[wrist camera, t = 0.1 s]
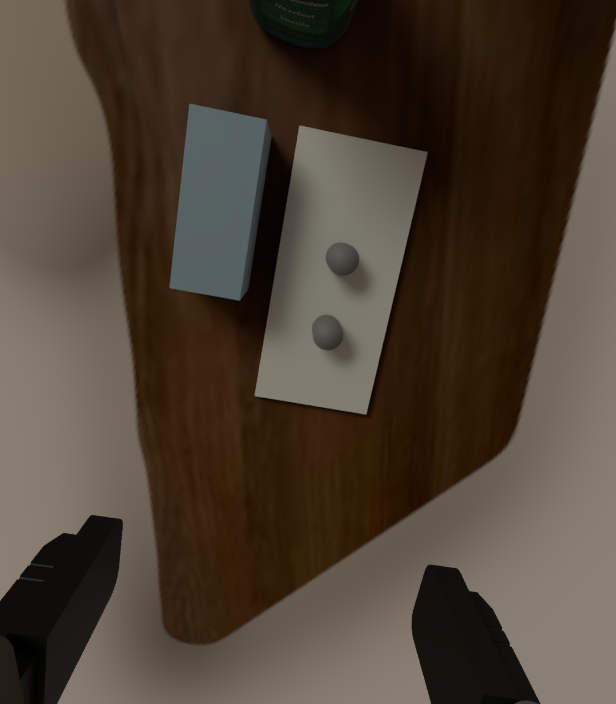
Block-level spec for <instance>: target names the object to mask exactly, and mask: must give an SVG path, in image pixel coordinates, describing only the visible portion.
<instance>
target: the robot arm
mask: <svg viewBox="0 0 616 704" xmlns="http://www.w3.org/2000/svg"><path fill="white" fill-rule="evenodd" d="M122 529H123V522H122V520H121V519H117V518H109V517H103V516H96V515H91V516H90V517H89V518H88V519H87V521H86V522H85V524H84V525H83V526H82V528H81V529H80V531H79V532H78V534H77V535H74V534H67V533H63V534H61V535H60V536H58V537H57V538H55V539H53V540H52V541H50V542H49V543H47V544H46V545H44V546H43V547H42V549H41V550H40V551H39V553H38V554H37V555H36V556H35V558H34V559H33V560H32V561H31V564H30V566H28V567H27V568H26V569H25V570H24V572H23V573H22V574H21V575H20V578H19V580H16V582H15V583H14V584H13V585H12V587H11V588H10V589H9V591H8V592H7V593H6V594H5V596H4V597H3V598H2V599H1V601H0V704H57V703H58V701H59V699H60V697H61V695H62V693H63V691H64V689H65V687H66V685H67V683H68V681H69V679H70V677H71V675H72V673H73V671H74V669H75V667H76V665H77V663H78V661H79V659H80V657H81V655H82V653H83V651H84V649H85V647H86V645H87V643H88V641H89V639H90V637H91V635H92V633H93V631H94V629H95V627H96V625H97V623H98V621H99V619H100V617H101V615H102V613H103V611H104V609H105V607H106V605H107V603H108V601H109V599H110V597H111V595H112V593H113V590H114V587H115V584H116V580H117V576H118V570H119V561H120V551H121V539H122ZM412 634H413V640H414V643H415V647H416V650H417V654H418V657H419V661H420V665H421V668H422V672H423V676H424V679H425V683H426V686H427V690H428V694H429V697H430V701H431V704H540V702H539V700H538V698H537V697H536V694H535V692H534V690H533V688H532V686H531V684H530V682H529V680H528V678H527V676H526V674H525V672H524V670H523V668H522V666H521V664H520V662H519V660H518V658H517V657H516V655H515V653H514V651H513V649H512V647H510V643H509V640H508V638H507V637H506V635H505V633H504V631H502V627H501V625H500V623H499V621H498V619H497V617H496V615H495V613H494V611H493V609H492V608H491V607H490V606H489V605H488V604H487V603H486V601H485V600H484V599H483V598H482V597H481V596H480V595H479V594H478V593H477V592H471V591H469V590H468V588H467V586H466V583H465V581H464V579H463V577H462V575H461V573H460V571H459V570H458V569H457V568H450V567H443V566H437V565H428V566H427V567H426V569H425V572H424V575H423V579H422V582H421V585H420V589H419V592H418V596H417V599H416V603H415V606H414V609H413V614H412Z"/></svg>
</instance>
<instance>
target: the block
mask: <svg viewBox="0 0 616 704" xmlns="http://www.w3.org/2000/svg"><path fill="white" fill-rule="evenodd" d="M271 138H272V136H271V133H270V129H269V126H268V123H267V120H265V119H261V118H256V117H251V116H246V115H241V114H236V113H232V112H227V111H222V110H217V109H212V108H207V107H203V106H198V105H193V104H190V105H189V114H188V123H187V132H186V141H185V151H184V160H183V169H182V178H181V187H180V197H179V206H178V215H177V224H176V233H175V243H174V252H173V261H172V270H171V280H170V288H173V289H178V290H184V291H189V292H195V293H200V294H206V295H212V296H217V297H223V298H228V299H234V300H239V301H240V300H241V298H242V297H243V296H244V294H245V293H246V292H247V290H248V289H249V282H250V275H251V269H252V262H253V256H254V249H255V243H256V236H257V229H258V223H259V216H260V210H261V203H262V197H263V190H264V184H265V177H266V170H267V164H268V157H269V151H270V144H271Z"/></svg>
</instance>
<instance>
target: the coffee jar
mask: <svg viewBox="0 0 616 704" xmlns="http://www.w3.org/2000/svg"><path fill="white" fill-rule="evenodd" d="M357 3H358V0H249V4H250V8H251V11H252V14H253V16H254V18H255V20H256V21H257V23H258V24H259V25H260V26H261V27H262V28H263V29H264V30H265V31H267V32H268V33H270V34H271V35H273V36H275V37H277V38H279V39H281V40H284V41H286V42H288V43H291V44H294V45H297V46H300V47H305V48H311V49H321V48H325V47H328V46H330V45H332V44H334V43H335V42H336V41H338V40H339V39H340V38H341V37H342V35H343V34H344V32H345V31H346V29H347V27H348V25H349V23H350V20H351V18H352V16H353V13H354V11H355V8H356V5H357Z"/></svg>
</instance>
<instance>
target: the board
mask: <svg viewBox="0 0 616 704" xmlns="http://www.w3.org/2000/svg"><path fill="white" fill-rule="evenodd" d="M427 153H428V152H424V151H419V150H415V149H410V148H405V147H400V146H395V145H390V144H386V143H381V142H376V141H371V140H366V139H361V138H357V137H352V136H347V135H342V134H337V133H332V132H328V131H323V130H318V129H313V128H308V127H303V126H299V132H298V138H297V144H296V150H295V156H294V162H293V168H292V174H291V180H290V186H289V192H288V198H287V204H286V210H285V216H284V222H283V228H282V234H281V240H280V246H279V252H278V258H277V264H276V270H275V276H274V283H273V289H272V295H271V301H270V307H269V313H268V319H267V325H266V331H265V337H264V343H263V349H262V355H261V361H260V367H259V373H258V379H257V385H256V391H255V396H258V397H264V398H270V399H276V400H282V401H288V402H294V403H300V404H306V405H312V406H318V407H324V408H330V409H336V410H342V411H348V412H354V413H360V414H366V413H367V409H368V405H369V401H370V396H371V392H372V388H373V384H374V379H375V375H376V371H377V367H378V362H379V358H380V354H381V349H382V345H383V341H384V337H385V332H386V328H387V324H388V320H389V315H390V311H391V307H392V302H393V298H394V294H395V290H396V285H397V281H398V277H399V273H400V268H401V264H402V260H403V256H404V251H405V247H406V243H407V238H408V234H409V230H410V226H411V221H412V217H413V213H414V209H415V204H416V200H417V196H418V192H419V187H420V183H421V179H422V174H423V170H424V166H425V162H426V157H427Z"/></svg>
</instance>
